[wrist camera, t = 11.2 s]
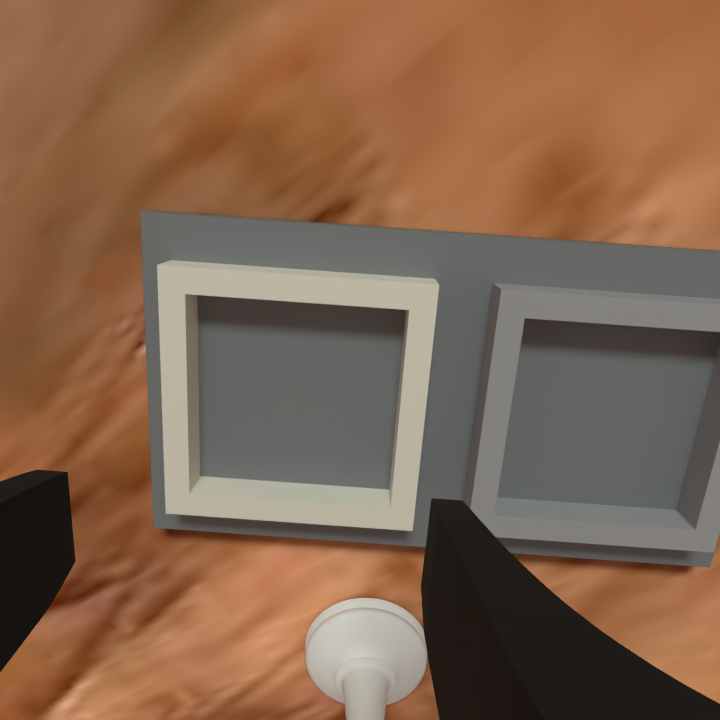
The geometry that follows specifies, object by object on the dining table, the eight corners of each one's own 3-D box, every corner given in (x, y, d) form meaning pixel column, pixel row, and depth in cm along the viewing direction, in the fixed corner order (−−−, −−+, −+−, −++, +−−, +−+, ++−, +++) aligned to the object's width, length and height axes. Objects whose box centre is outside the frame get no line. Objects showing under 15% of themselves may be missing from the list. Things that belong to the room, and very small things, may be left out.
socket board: (694, 550, 21) (730, 590, 19) (163, 512, 21) (140, 548, 19) (775, 255, 18) (829, 262, 16) (152, 210, 18) (123, 212, 16)
